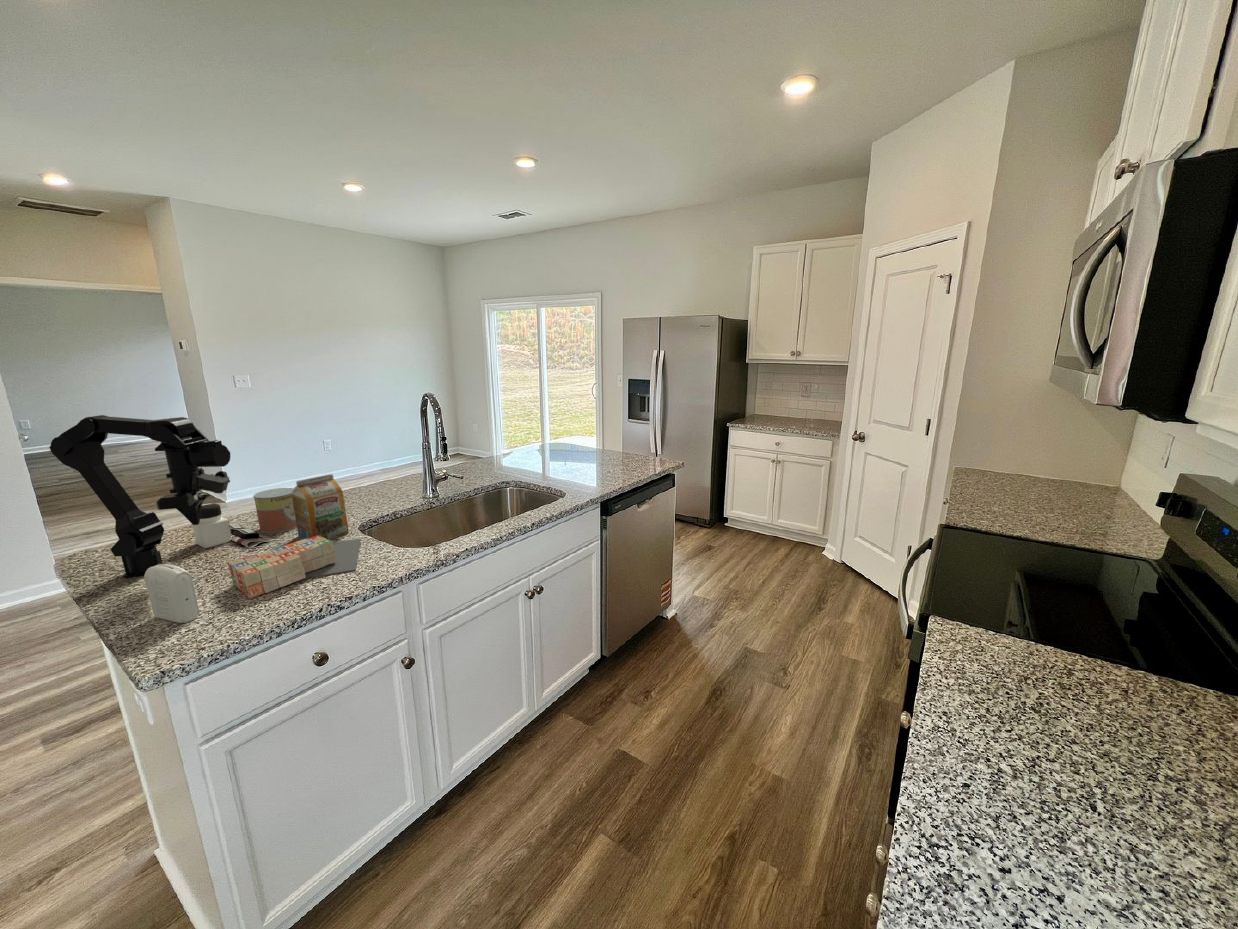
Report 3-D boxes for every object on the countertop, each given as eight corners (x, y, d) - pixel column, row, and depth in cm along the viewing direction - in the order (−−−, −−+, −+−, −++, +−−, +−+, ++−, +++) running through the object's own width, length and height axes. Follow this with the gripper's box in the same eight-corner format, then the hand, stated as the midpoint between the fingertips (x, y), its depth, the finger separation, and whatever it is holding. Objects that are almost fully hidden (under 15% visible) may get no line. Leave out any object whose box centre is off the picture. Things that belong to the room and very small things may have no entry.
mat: (285, 582, 125) (285, 581, 125) (300, 548, 146) (300, 547, 146) (356, 570, 132) (355, 569, 132) (360, 539, 153) (360, 538, 153)
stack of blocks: (318, 534, 139) (338, 543, 132) (322, 554, 140) (342, 564, 133) (226, 562, 122) (243, 575, 115) (232, 585, 124) (249, 599, 117)
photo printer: (204, 615, 110) (192, 564, 107) (182, 625, 106) (170, 573, 103) (172, 608, 113) (160, 558, 110) (150, 618, 109) (137, 566, 106)
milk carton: (333, 526, 164) (324, 471, 160) (348, 533, 158) (340, 476, 154) (298, 536, 156) (288, 478, 152) (313, 543, 150) (303, 483, 146)
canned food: (285, 533, 159) (279, 497, 156) (251, 533, 159) (244, 498, 156) (307, 521, 169) (302, 487, 167) (275, 521, 170) (269, 488, 167)
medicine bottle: (233, 541, 153) (225, 504, 150) (205, 548, 147) (196, 510, 144) (223, 536, 156) (216, 500, 153) (195, 543, 150) (187, 506, 148)
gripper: (205, 472, 120) (218, 532, 124) (234, 457, 137) (245, 510, 141) (148, 477, 116) (163, 538, 120) (186, 460, 134) (198, 514, 137)
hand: (196, 524), depth 130 cm, fingers closed
